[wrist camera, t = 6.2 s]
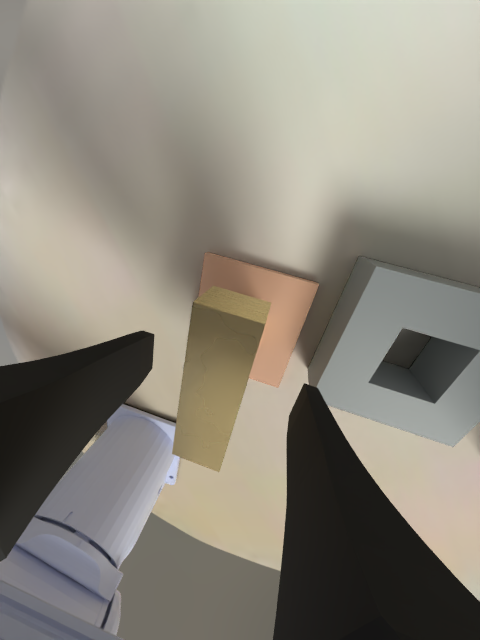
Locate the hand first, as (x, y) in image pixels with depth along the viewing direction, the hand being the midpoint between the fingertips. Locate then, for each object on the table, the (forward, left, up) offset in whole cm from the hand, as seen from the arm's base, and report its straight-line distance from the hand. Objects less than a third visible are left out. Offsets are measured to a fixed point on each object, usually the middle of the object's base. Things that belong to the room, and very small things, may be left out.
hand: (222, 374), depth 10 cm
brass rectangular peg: (0, 0, -5) cm, 5 cm away
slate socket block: (+2, -9, -6) cm, 11 cm away
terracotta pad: (0, 0, -6) cm, 6 cm away
